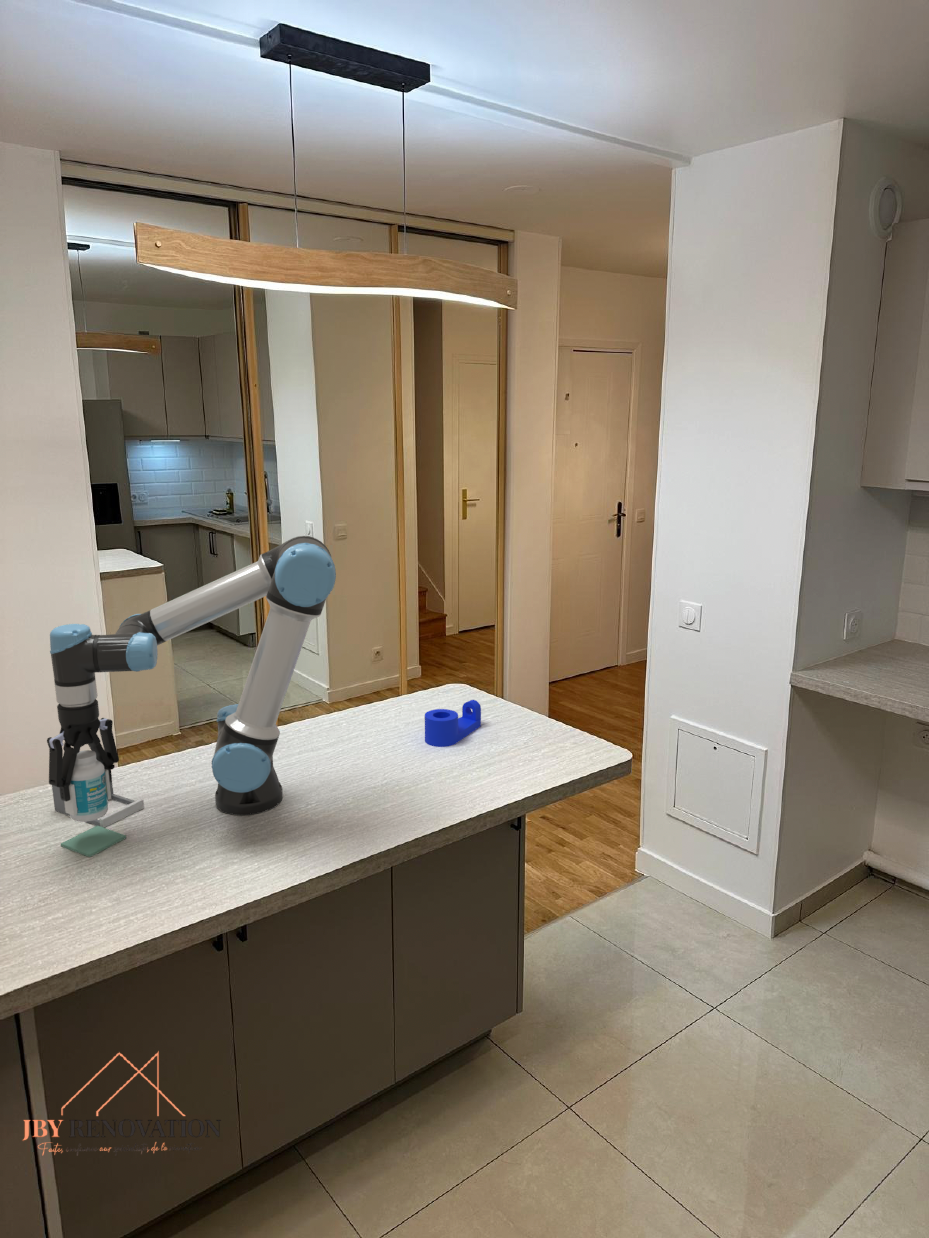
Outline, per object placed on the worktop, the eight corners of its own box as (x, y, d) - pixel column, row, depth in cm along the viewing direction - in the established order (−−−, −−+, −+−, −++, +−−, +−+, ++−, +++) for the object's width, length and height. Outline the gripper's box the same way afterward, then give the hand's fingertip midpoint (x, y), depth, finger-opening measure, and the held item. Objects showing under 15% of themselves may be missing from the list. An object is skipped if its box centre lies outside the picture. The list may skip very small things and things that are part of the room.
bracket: (444, 750, 227) (444, 723, 225) (418, 742, 232) (417, 715, 230) (487, 728, 242) (487, 703, 240) (461, 721, 247) (461, 696, 245)
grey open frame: (144, 807, 194) (140, 768, 192) (103, 828, 185) (98, 787, 182) (96, 792, 202) (92, 754, 199) (55, 810, 192) (49, 771, 190)
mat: (126, 837, 181) (125, 835, 181) (89, 857, 173) (89, 854, 173) (97, 827, 185) (97, 825, 185) (60, 846, 177) (60, 843, 177)
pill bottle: (94, 825, 173) (87, 763, 170) (62, 821, 175) (54, 760, 171) (116, 808, 180) (110, 748, 177) (84, 804, 182) (78, 745, 178)
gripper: (107, 684, 182) (117, 783, 187) (18, 713, 164) (32, 821, 170) (131, 690, 178) (141, 790, 184) (43, 720, 161) (56, 830, 167)
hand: (88, 805), depth 177 cm, fingers closed on pill bottle, 7 cm apart
